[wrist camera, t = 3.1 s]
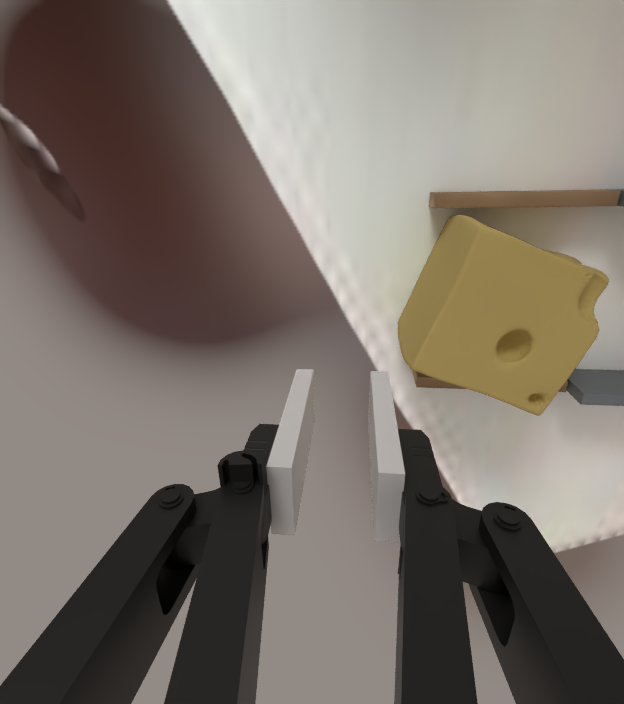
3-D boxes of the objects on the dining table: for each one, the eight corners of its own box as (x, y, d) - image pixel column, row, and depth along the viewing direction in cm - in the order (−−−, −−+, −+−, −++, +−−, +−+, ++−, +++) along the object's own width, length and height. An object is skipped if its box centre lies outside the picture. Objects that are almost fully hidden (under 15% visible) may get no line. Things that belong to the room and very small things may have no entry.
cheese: (563, 254, 32) (647, 284, 23) (493, 365, 36) (540, 428, 27) (445, 207, 31) (481, 219, 22) (388, 325, 36) (400, 376, 26)
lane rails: (430, 192, 31) (436, 193, 28) (600, 189, 29) (620, 190, 27) (413, 374, 37) (416, 387, 35) (552, 378, 36) (565, 391, 34)
